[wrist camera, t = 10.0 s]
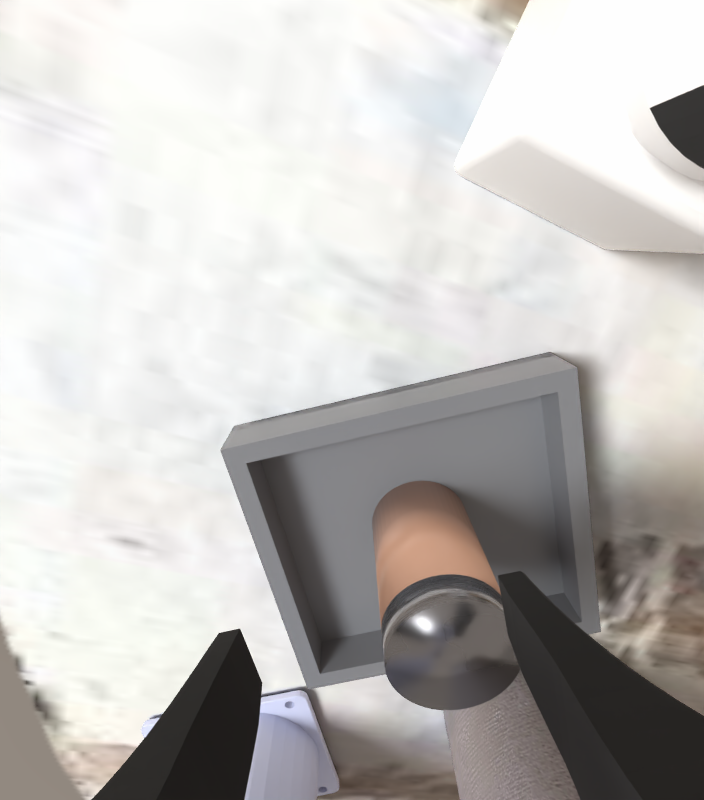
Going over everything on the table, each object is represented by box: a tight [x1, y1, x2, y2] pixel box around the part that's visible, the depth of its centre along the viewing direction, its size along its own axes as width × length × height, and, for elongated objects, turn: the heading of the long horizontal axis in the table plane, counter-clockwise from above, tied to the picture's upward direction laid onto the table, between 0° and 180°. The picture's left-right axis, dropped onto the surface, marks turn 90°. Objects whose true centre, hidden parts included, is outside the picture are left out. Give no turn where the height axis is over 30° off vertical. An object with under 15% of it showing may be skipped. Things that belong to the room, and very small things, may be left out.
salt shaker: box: [372, 481, 520, 710], centre depth 18 cm, size 4×4×8 cm
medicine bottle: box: [454, 0, 704, 254], centre depth 12 cm, size 7×7×12 cm
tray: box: [221, 352, 601, 689], centre depth 21 cm, size 14×13×2 cm
